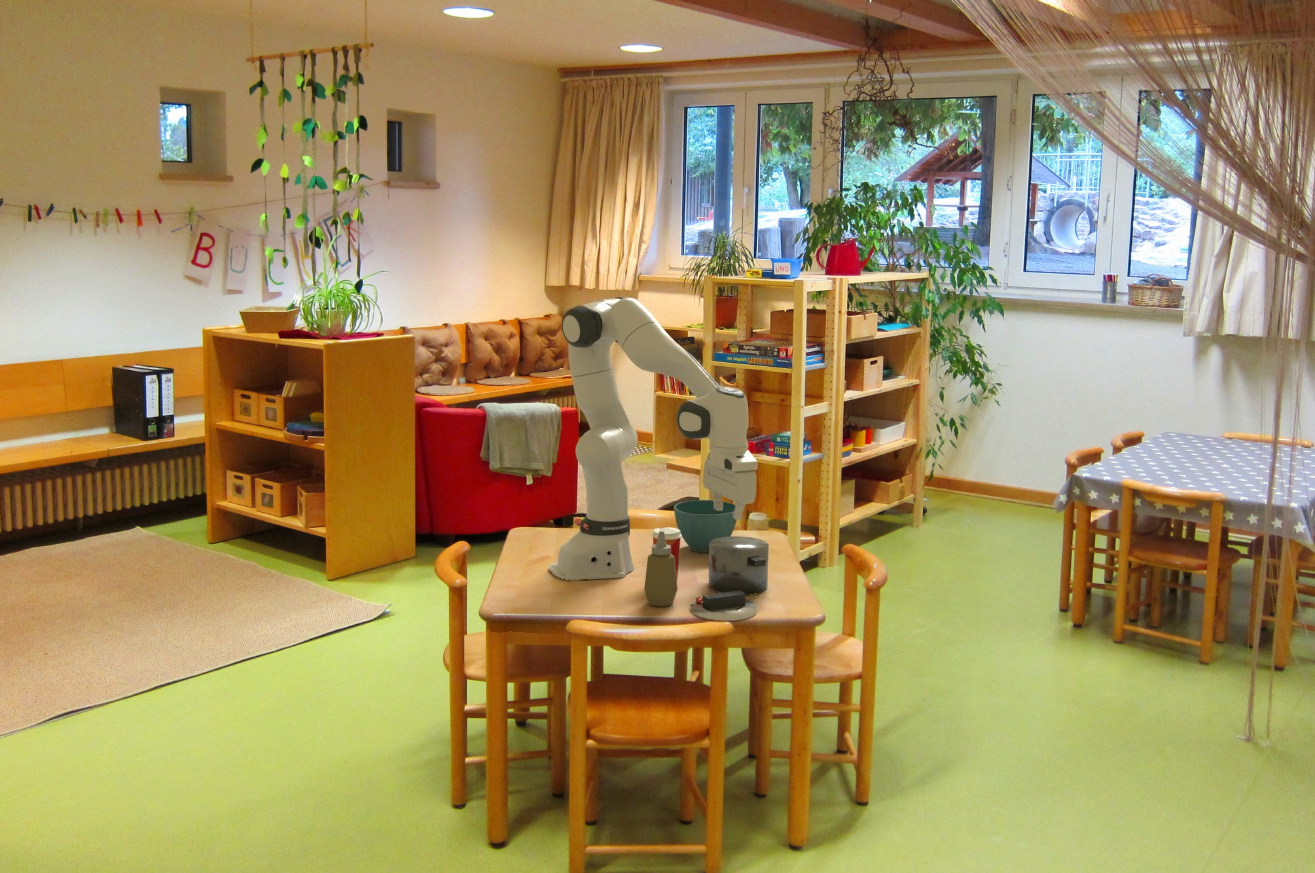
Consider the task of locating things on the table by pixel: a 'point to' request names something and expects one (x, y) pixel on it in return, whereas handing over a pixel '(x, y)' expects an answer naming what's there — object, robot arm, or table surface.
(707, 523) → the teal bowl
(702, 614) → the lid
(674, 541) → the paper cup
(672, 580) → the squeeze bottle
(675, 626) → the table surface
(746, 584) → the pot
